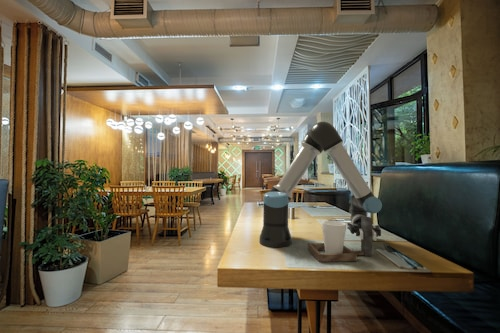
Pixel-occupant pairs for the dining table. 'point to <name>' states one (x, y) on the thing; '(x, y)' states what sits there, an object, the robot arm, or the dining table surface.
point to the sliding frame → (347, 253)
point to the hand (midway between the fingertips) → (368, 236)
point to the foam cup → (333, 236)
